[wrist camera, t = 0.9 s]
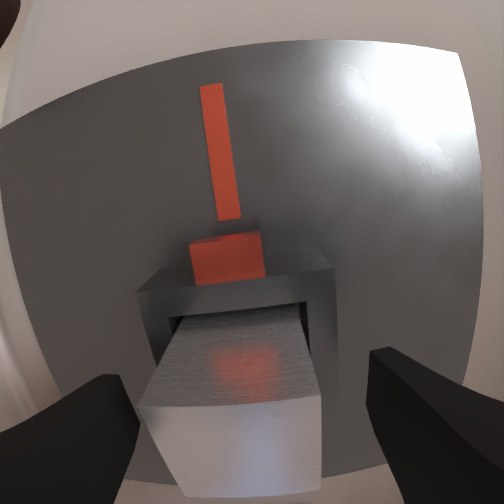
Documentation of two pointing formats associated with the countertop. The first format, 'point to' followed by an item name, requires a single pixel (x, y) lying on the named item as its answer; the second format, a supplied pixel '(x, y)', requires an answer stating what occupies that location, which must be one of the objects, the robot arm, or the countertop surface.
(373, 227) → the stand
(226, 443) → the silver metallic block
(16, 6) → the coffee mug
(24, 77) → the countertop surface
